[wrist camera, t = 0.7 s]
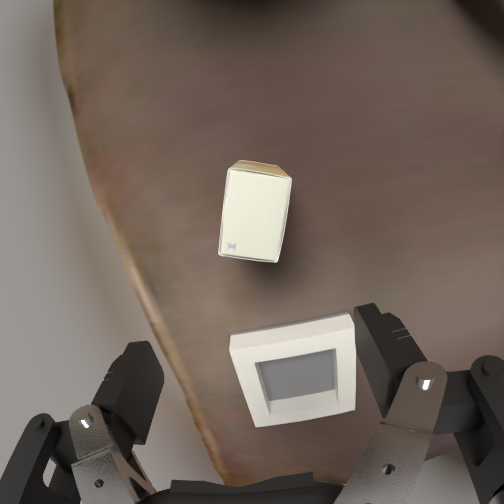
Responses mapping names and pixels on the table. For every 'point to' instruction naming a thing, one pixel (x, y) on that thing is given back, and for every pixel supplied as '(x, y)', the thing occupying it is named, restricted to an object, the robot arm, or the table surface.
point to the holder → (297, 369)
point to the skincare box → (254, 211)
